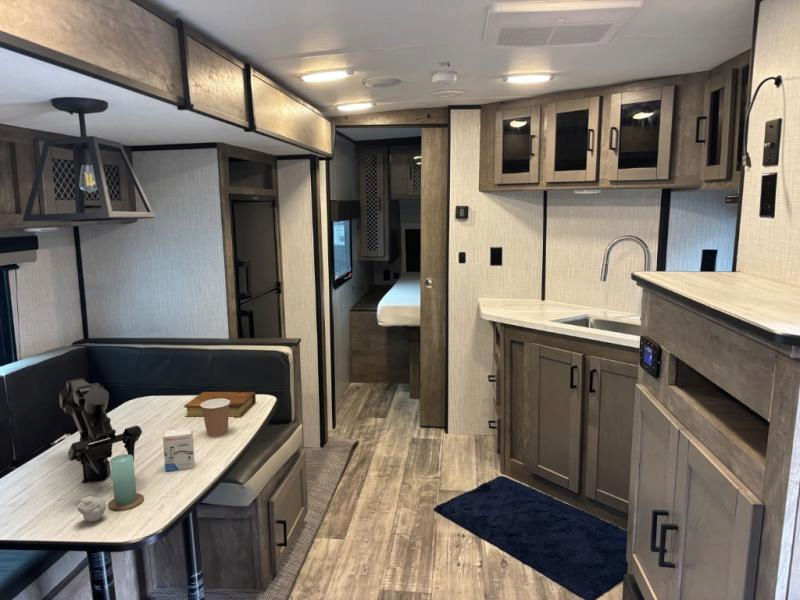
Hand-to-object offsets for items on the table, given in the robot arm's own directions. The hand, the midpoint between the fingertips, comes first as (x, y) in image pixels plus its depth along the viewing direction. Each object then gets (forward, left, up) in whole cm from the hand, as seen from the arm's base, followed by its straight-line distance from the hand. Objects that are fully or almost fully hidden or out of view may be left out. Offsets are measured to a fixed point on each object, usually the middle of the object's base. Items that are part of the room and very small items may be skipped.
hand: (116, 467), depth 157 cm
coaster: (+3, -4, -9) cm, 10 cm away
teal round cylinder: (+3, -3, -8) cm, 10 cm away
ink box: (+12, +18, -9) cm, 24 cm away
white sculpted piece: (-3, -12, -9) cm, 15 cm away
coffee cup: (+19, +45, -9) cm, 50 cm away
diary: (+16, +73, -10) cm, 75 cm away
